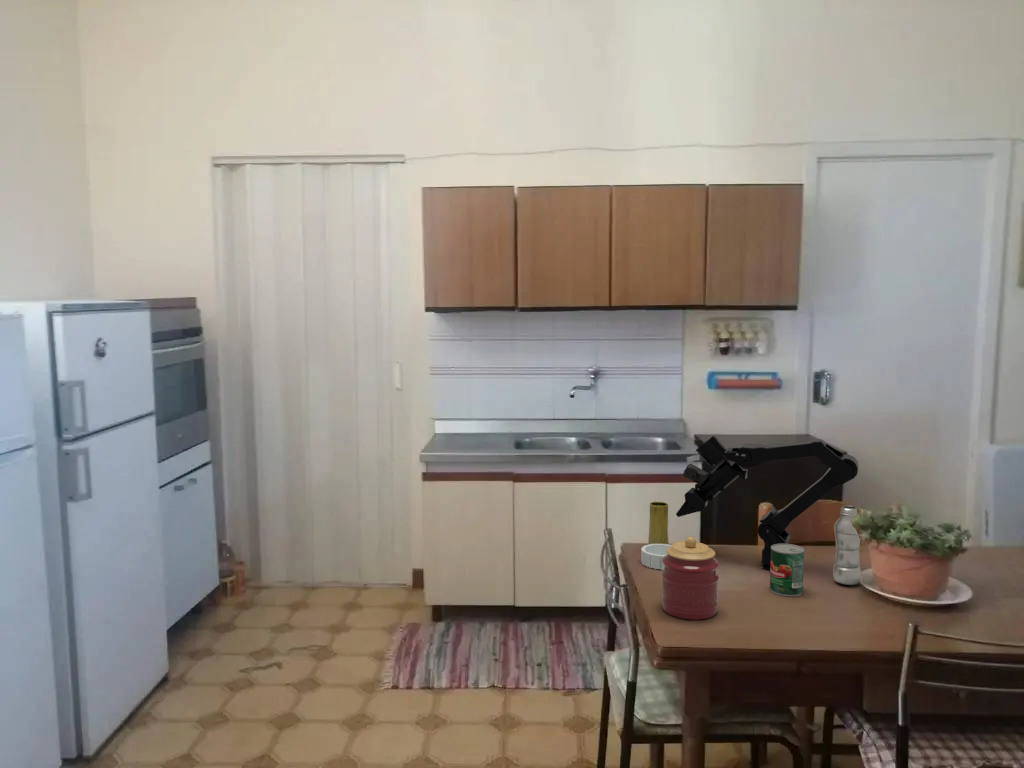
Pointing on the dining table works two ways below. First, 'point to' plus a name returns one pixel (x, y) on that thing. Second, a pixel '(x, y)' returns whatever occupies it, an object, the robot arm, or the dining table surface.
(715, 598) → the canister
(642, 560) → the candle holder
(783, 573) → the canned tomato
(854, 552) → the plastic bottle
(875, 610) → the dining table surface
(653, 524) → the vase
